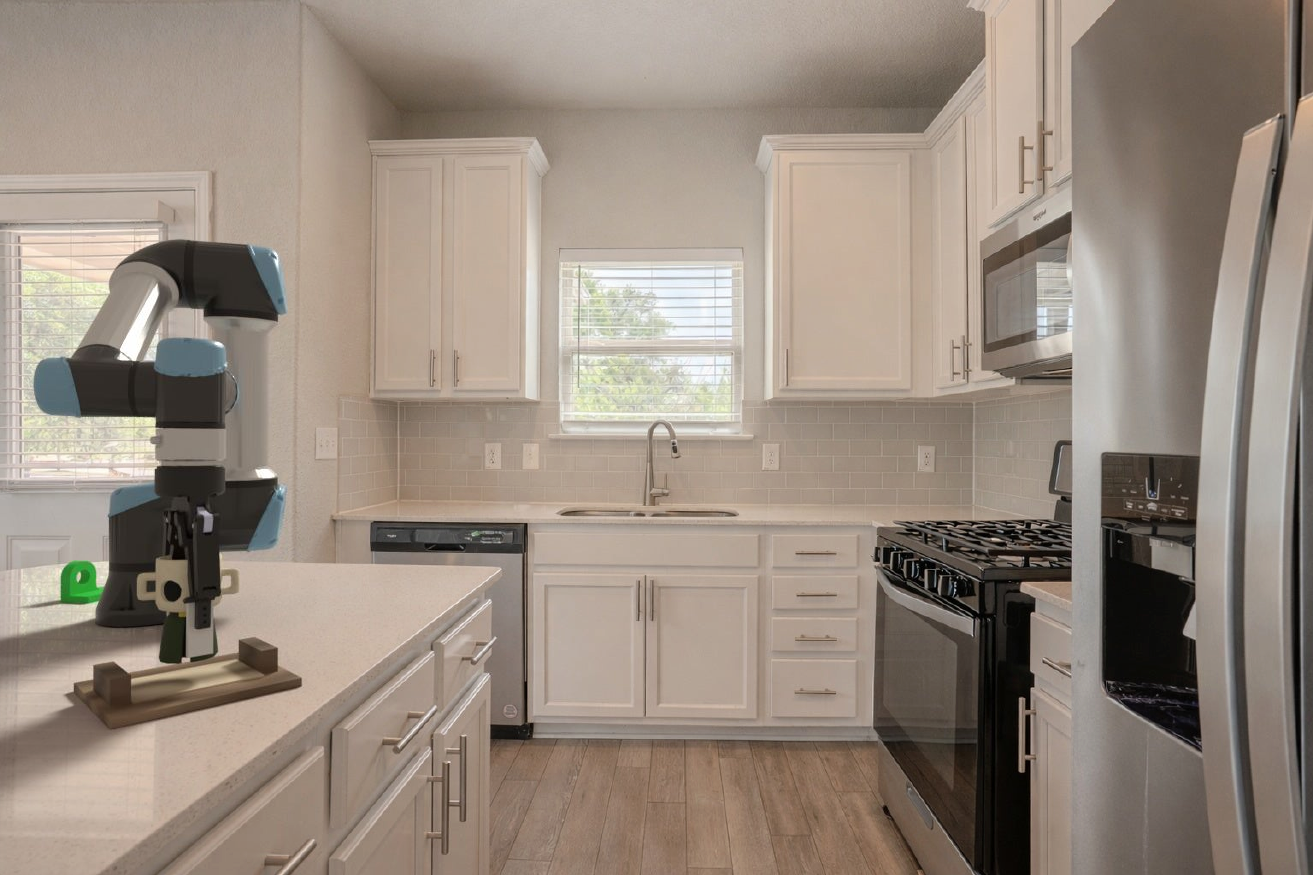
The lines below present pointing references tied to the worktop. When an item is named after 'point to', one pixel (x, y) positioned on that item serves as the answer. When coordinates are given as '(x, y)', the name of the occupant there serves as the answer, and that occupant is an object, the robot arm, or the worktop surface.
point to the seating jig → (184, 685)
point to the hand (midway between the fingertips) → (189, 648)
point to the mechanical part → (79, 583)
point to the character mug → (178, 604)
